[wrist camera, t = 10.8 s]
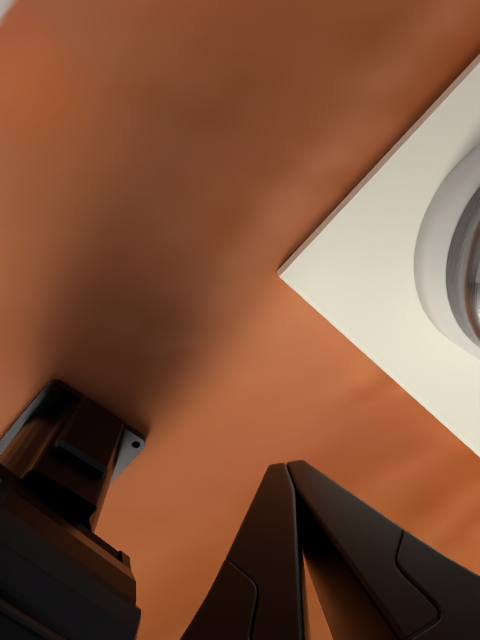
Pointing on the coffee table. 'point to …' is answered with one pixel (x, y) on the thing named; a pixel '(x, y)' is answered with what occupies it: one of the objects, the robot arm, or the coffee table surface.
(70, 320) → the coffee table surface
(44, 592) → the robot arm
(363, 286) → the mounting plate
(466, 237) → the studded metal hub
